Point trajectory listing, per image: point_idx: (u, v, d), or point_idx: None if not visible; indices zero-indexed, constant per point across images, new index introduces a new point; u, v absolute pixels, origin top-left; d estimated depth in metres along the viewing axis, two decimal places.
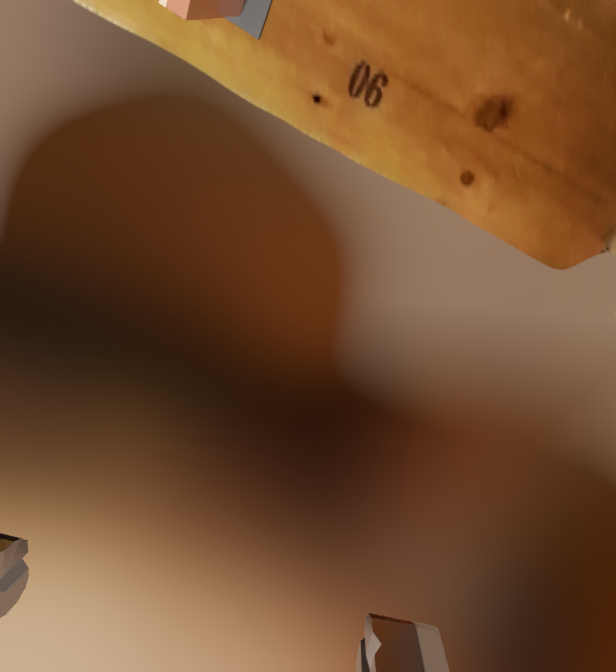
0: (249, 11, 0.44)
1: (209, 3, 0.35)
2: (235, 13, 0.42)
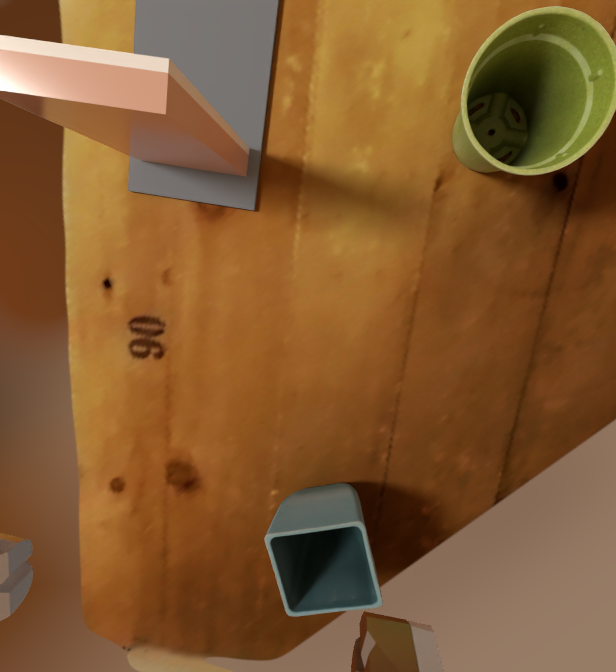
0: (149, 172, 0.34)
1: (65, 121, 0.23)
2: (130, 155, 0.32)
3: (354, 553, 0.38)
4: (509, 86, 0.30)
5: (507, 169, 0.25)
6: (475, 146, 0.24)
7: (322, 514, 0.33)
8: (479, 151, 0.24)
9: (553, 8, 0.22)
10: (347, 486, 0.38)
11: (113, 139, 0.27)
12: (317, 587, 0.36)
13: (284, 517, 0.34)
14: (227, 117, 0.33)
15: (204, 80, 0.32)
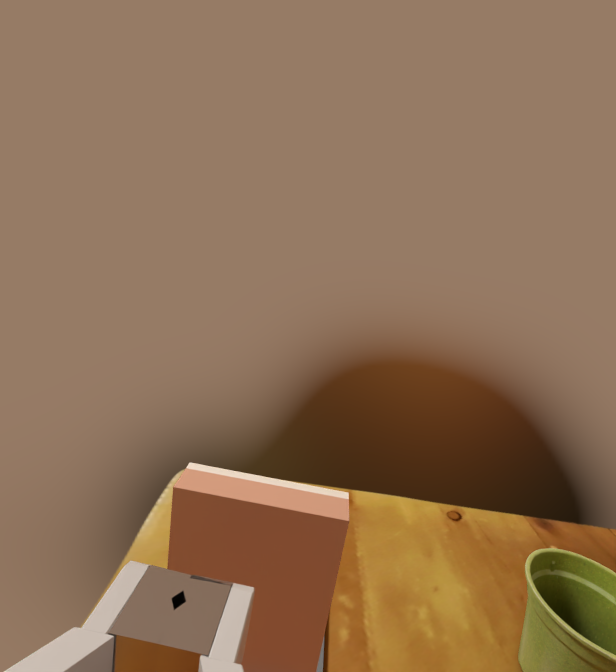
0: None
1: (188, 560, 0.22)
2: None
3: None
4: None
5: None
6: (582, 639, 0.25)
7: None
8: (590, 644, 0.24)
9: (555, 549, 0.32)
10: None
11: None
12: None
13: None
14: None
15: None
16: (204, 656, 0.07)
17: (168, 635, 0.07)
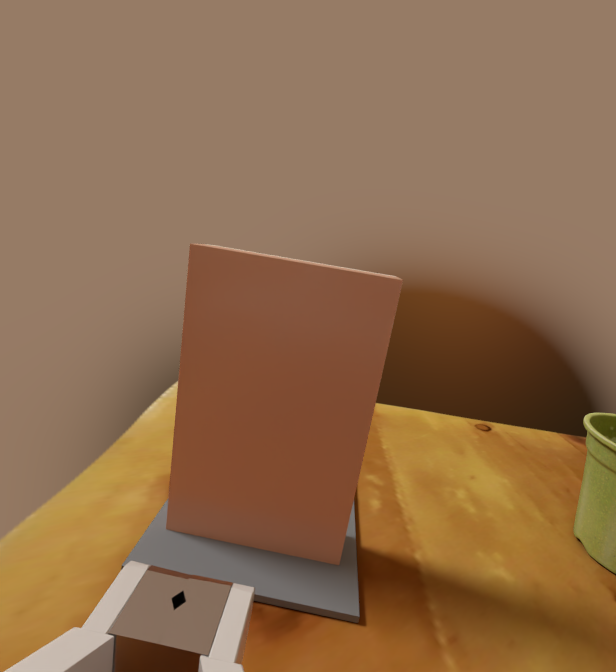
0: (174, 544, 0.20)
1: (205, 346, 0.19)
2: (173, 498, 0.21)
3: None
4: None
5: None
6: None
7: None
8: None
9: (613, 414, 0.28)
10: None
11: (220, 411, 0.19)
12: None
13: None
14: None
15: None
16: (204, 656, 0.07)
17: (168, 635, 0.07)
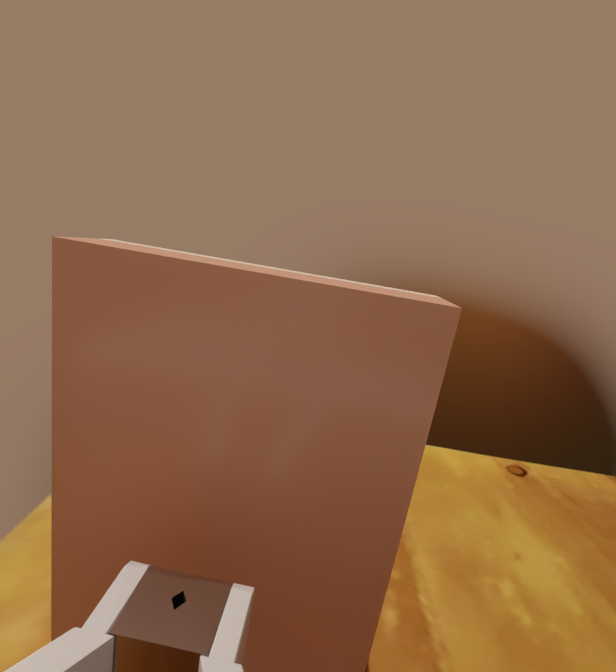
0: None
1: (93, 424, 0.10)
2: None
3: None
4: None
5: None
6: None
7: None
8: None
9: None
10: None
11: (127, 533, 0.11)
12: None
13: None
14: None
15: None
16: (204, 656, 0.07)
17: (168, 635, 0.07)
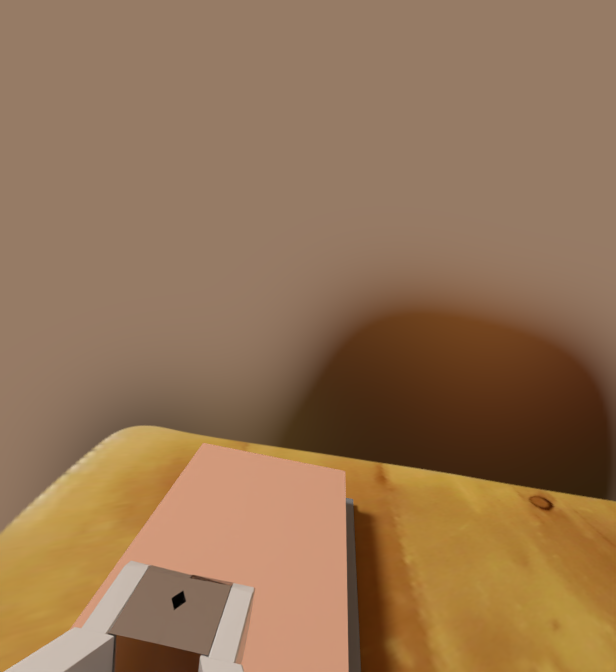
0: None
1: (193, 489, 0.21)
2: None
3: None
4: None
5: None
6: None
7: None
8: None
9: None
10: None
11: (189, 536, 0.18)
12: None
13: None
14: None
15: None
16: (204, 656, 0.07)
17: (168, 635, 0.07)
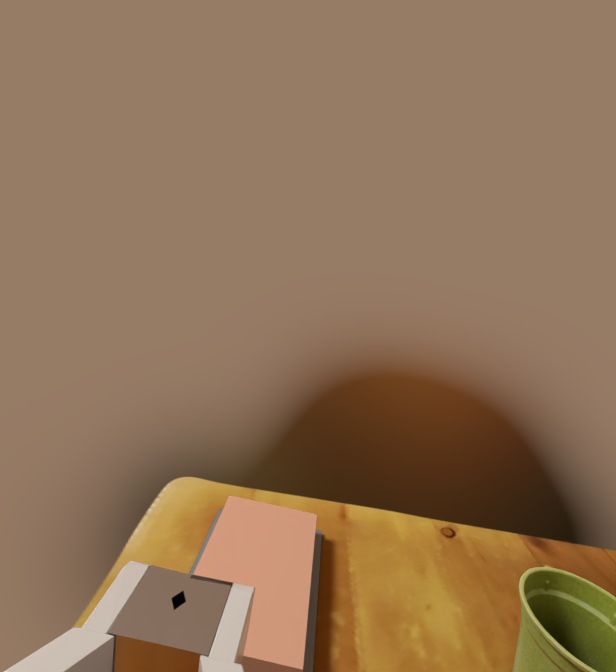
0: None
1: (227, 528, 0.37)
2: None
3: None
4: None
5: None
6: (576, 661, 0.24)
7: None
8: (584, 666, 0.24)
9: (549, 568, 0.32)
10: None
11: (228, 556, 0.34)
12: None
13: None
14: None
15: None
16: (204, 656, 0.07)
17: (168, 635, 0.07)
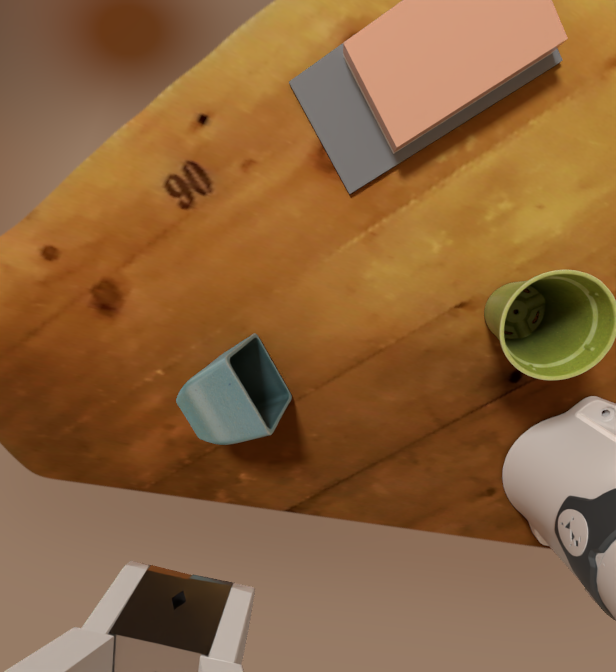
0: (315, 89, 0.36)
1: None
2: (366, 30, 0.33)
3: None
4: (550, 300, 0.38)
5: (502, 345, 0.32)
6: (503, 315, 0.32)
7: None
8: (501, 320, 0.32)
9: (610, 294, 0.30)
10: None
11: (437, 11, 0.32)
12: None
13: None
14: None
15: None
16: (204, 656, 0.07)
17: (168, 635, 0.07)
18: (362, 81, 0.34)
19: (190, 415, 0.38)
